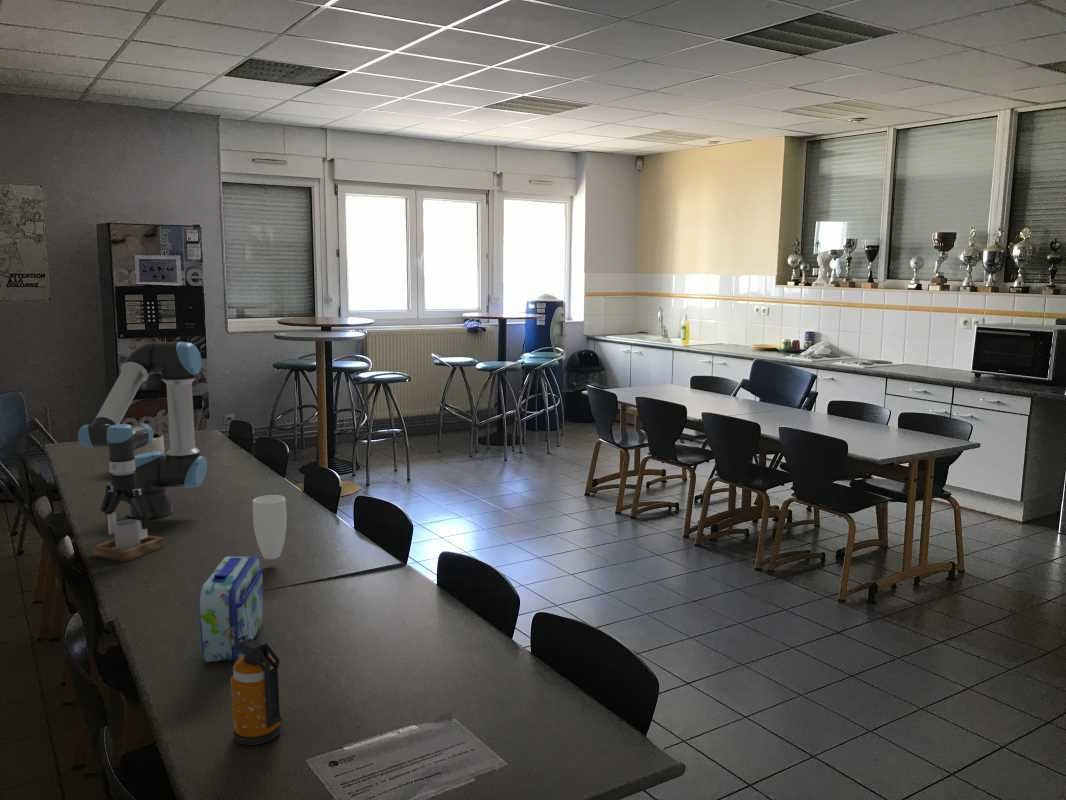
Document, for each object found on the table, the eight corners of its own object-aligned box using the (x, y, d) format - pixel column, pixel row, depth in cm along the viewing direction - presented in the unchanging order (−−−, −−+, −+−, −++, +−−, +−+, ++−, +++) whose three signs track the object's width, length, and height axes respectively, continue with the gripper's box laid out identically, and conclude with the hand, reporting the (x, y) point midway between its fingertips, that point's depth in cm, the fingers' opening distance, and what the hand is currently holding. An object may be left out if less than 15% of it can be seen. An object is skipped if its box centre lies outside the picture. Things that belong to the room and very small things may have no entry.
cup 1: (115, 553, 272) (113, 527, 271) (116, 544, 281) (114, 518, 280) (140, 550, 275) (138, 524, 274) (140, 541, 284) (138, 516, 283)
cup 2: (296, 562, 268) (293, 496, 264) (276, 573, 258) (272, 505, 255) (268, 558, 271) (265, 493, 268) (247, 569, 262) (244, 501, 258)
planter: (155, 475, 377) (152, 440, 374) (115, 474, 377) (112, 440, 375) (172, 465, 394) (170, 432, 392) (134, 465, 395) (132, 432, 392)
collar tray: (133, 541, 288) (132, 532, 287) (164, 546, 282) (163, 537, 282) (92, 555, 273) (91, 546, 273) (124, 562, 268) (123, 552, 267)
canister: (262, 718, 176) (257, 628, 173) (297, 735, 170) (293, 641, 167) (224, 738, 169) (219, 644, 166) (260, 756, 163) (255, 659, 159)
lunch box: (244, 669, 198) (239, 584, 194) (196, 671, 197) (191, 585, 193) (269, 622, 223) (265, 546, 220) (227, 624, 222) (222, 547, 219)
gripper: (85, 471, 275) (90, 534, 279) (142, 479, 265) (147, 544, 269) (105, 466, 282) (110, 527, 285) (161, 473, 272) (165, 537, 276)
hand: (128, 535), depth 277 cm, fingers open, 13 cm apart
